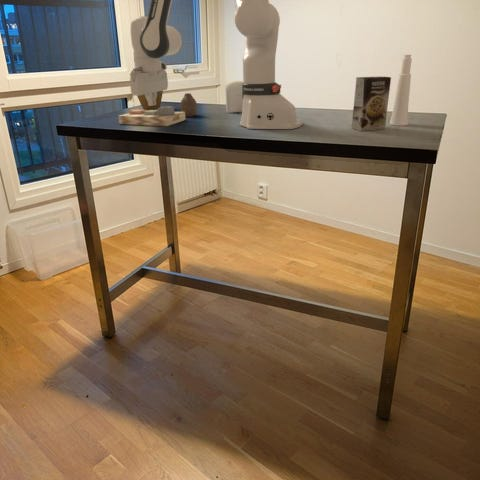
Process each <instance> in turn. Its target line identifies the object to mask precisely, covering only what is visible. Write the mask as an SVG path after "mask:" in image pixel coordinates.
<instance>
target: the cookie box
mask: <svg viewBox="0 0 480 480" xmlns="http://www.w3.org/2000/svg"><path fill="white" fill-rule="evenodd" d="M391 80H392V77H390V76H363V77H362V76H361V77H359V76H357V77H356V78H355V89H354V99H353V108H352V121H351V128H352V129H355V130H357V131H360V132H365V131H377V130H385V129H386V121H387V113H388V104H389V98H390V97H389V96H390V91H391V90H390V89H391V82H392V81H391Z"/></svg>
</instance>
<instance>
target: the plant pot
mask: <svg viewBox="0 0 480 480" xmlns="http://www.w3.org/2000/svg"><path fill="white" fill-rule="evenodd" d="M130 76H131V72H130V73H129V77H130ZM163 94H164V90H163V91H158V92H157V98H156V105H153V106H149V105H148V101H147V99H146V97H145V94H144V95H138V96H136V97H137V98H138V99H137V100H138V101H139V103H140V106H141V108H142V110H146V111H148V110H158V108H160V107H161V104H162V100H163Z"/></svg>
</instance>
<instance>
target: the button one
mask: <svg viewBox="0 0 480 480" xmlns="http://www.w3.org/2000/svg"><path fill="white" fill-rule="evenodd" d="M145 111H147V110H144V109H132V110H129V113H130V114H139V115H140V114H143V113H144V112H145Z"/></svg>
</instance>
